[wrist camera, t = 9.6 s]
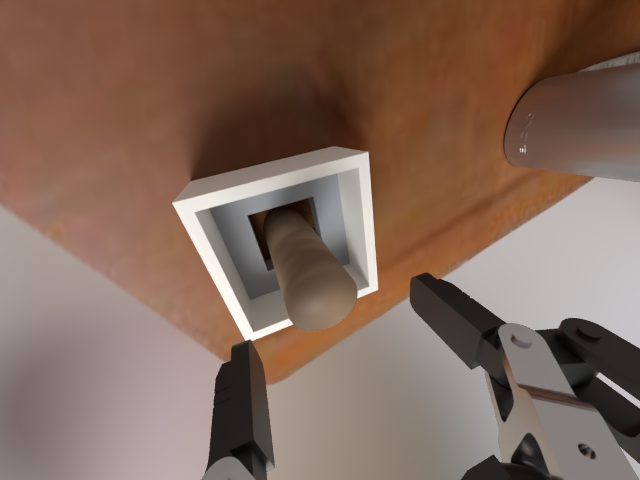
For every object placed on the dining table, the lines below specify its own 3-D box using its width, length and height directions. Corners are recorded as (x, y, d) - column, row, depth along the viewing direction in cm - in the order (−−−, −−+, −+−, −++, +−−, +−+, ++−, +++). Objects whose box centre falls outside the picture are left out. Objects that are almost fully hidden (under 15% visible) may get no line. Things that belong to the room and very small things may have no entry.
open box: (333, 146, 20) (368, 151, 15) (349, 257, 26) (378, 289, 20) (190, 181, 17) (172, 202, 12) (244, 295, 23) (246, 342, 18)
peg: (300, 201, 21) (353, 260, 12) (308, 238, 23) (360, 314, 13) (257, 214, 20) (278, 287, 11) (270, 251, 22) (297, 341, 13)
